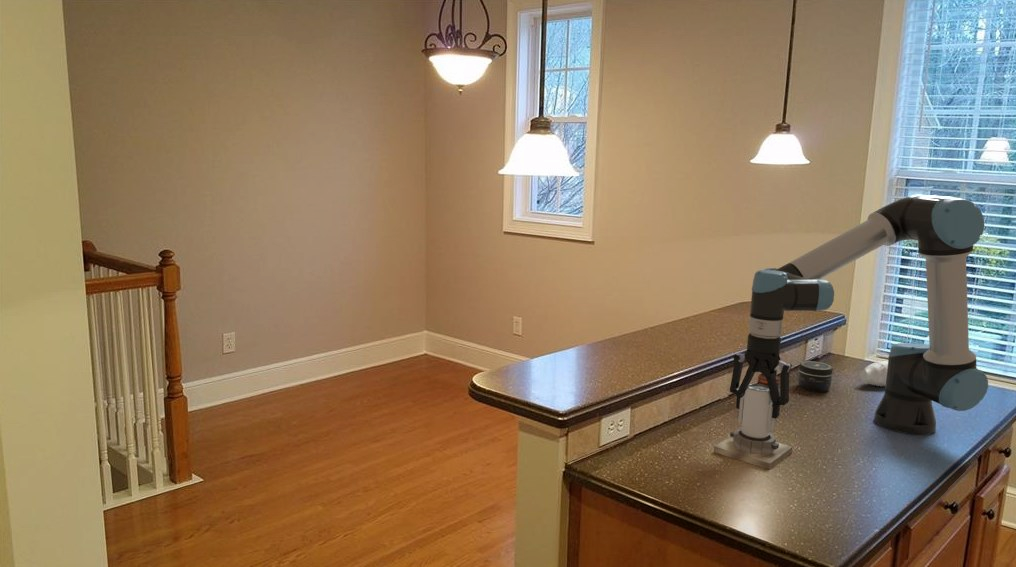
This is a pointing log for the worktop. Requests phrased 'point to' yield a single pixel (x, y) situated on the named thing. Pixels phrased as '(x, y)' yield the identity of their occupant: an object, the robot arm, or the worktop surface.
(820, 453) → the worktop surface
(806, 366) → the jar
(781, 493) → the worktop surface
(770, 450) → the grey ring holder base
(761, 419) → the can
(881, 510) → the worktop surface
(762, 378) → the supplement bottle
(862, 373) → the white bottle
